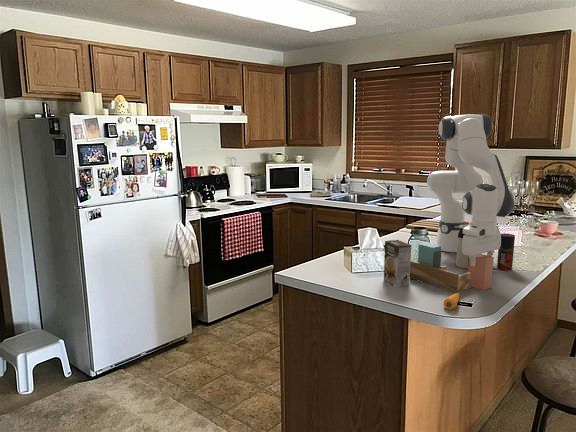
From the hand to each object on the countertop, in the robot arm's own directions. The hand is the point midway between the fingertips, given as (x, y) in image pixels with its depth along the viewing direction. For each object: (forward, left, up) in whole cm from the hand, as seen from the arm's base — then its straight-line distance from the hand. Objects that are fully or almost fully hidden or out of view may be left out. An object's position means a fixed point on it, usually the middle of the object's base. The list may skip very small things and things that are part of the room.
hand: (480, 263), depth 177 cm
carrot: (+20, +4, -10) cm, 23 cm away
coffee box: (+22, -22, -9) cm, 32 cm away
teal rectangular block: (+8, -17, -7) cm, 20 cm away
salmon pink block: (0, 0, -9) cm, 9 cm away
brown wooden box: (+9, -12, -9) cm, 18 cm away
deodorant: (-28, -6, -9) cm, 30 cm away
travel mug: (-18, -18, -9) cm, 27 cm away
